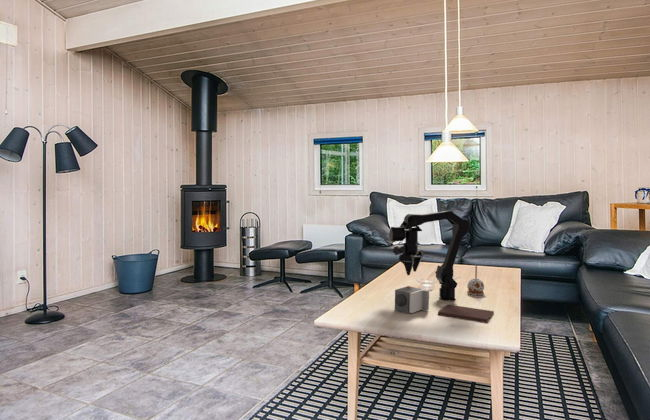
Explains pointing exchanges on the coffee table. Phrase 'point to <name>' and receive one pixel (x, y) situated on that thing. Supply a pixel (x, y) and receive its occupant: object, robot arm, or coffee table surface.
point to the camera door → (419, 301)
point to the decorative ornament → (475, 285)
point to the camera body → (403, 298)
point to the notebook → (466, 313)
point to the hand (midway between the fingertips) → (411, 273)
